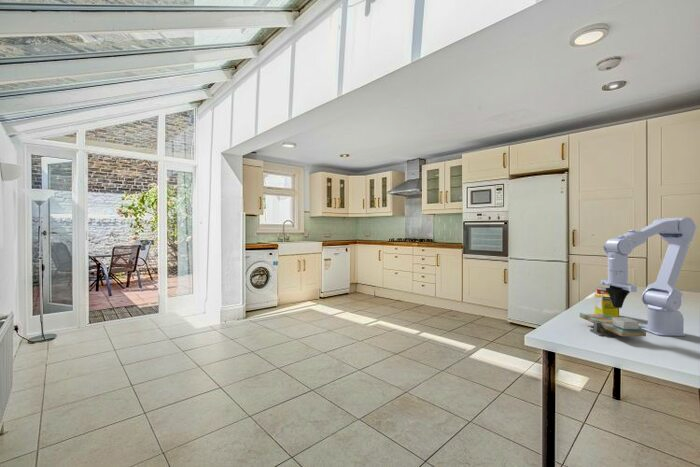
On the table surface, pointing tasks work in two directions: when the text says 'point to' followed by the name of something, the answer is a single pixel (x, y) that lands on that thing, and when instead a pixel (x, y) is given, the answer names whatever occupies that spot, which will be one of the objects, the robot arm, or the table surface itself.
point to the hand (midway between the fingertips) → (617, 307)
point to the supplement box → (605, 305)
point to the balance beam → (610, 324)
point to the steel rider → (625, 324)
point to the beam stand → (602, 330)
